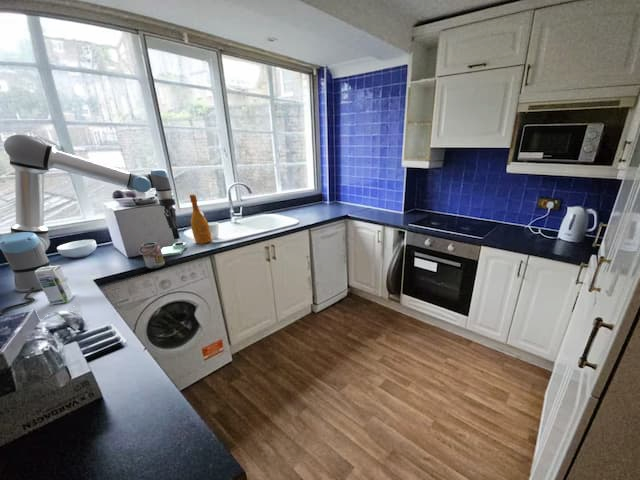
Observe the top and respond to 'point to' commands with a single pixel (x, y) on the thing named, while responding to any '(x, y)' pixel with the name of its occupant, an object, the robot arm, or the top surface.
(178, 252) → the scale
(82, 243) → the cereal bowl
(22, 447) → the top surface
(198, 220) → the wine bottle
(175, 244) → the tare button
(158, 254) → the glass clasp jar
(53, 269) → the syrup box
